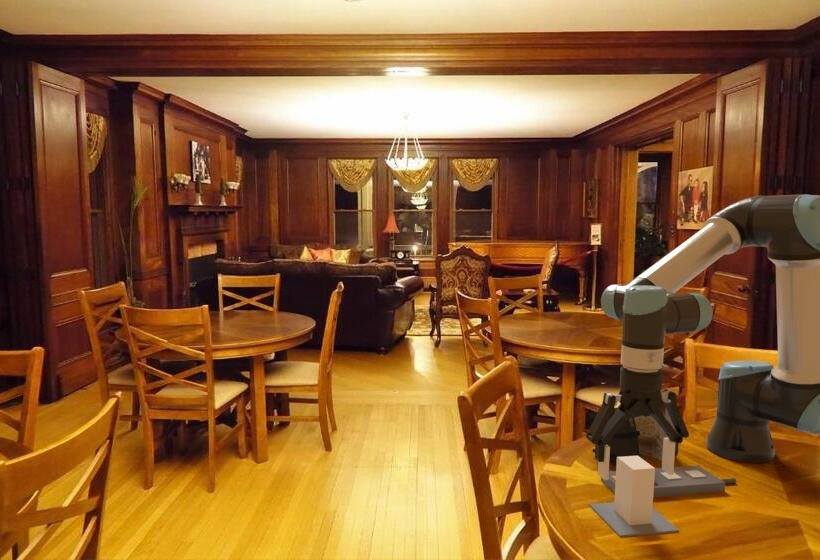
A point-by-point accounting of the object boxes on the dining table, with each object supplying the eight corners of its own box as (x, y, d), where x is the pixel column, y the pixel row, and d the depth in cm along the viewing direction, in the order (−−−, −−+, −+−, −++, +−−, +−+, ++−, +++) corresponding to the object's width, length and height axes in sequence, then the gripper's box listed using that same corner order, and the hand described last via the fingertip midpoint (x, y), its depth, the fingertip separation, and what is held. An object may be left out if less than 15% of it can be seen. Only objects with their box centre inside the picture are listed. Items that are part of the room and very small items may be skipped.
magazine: (642, 473, 136) (622, 406, 140) (599, 477, 147) (581, 415, 151) (653, 469, 138) (632, 404, 142) (609, 474, 149) (591, 413, 153)
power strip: (721, 474, 140) (722, 461, 140) (749, 491, 131) (750, 478, 131) (600, 482, 135) (601, 469, 135) (621, 501, 126) (622, 487, 126)
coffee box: (625, 451, 153) (628, 389, 151) (636, 445, 157) (639, 384, 155) (661, 462, 146) (666, 398, 144) (672, 455, 151) (676, 392, 149)
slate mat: (643, 503, 125) (643, 500, 125) (678, 534, 114) (679, 530, 114) (589, 507, 123) (589, 504, 123) (619, 539, 111) (620, 535, 111)
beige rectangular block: (634, 508, 122) (637, 455, 120) (651, 523, 116) (655, 468, 115) (613, 509, 121) (616, 456, 120) (629, 525, 115) (633, 469, 114)
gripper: (589, 375, 109) (584, 488, 112) (713, 370, 113) (706, 478, 116) (571, 365, 116) (566, 470, 119) (688, 360, 121) (681, 462, 123)
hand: (635, 474), depth 117 cm, fingers open, 13 cm apart
